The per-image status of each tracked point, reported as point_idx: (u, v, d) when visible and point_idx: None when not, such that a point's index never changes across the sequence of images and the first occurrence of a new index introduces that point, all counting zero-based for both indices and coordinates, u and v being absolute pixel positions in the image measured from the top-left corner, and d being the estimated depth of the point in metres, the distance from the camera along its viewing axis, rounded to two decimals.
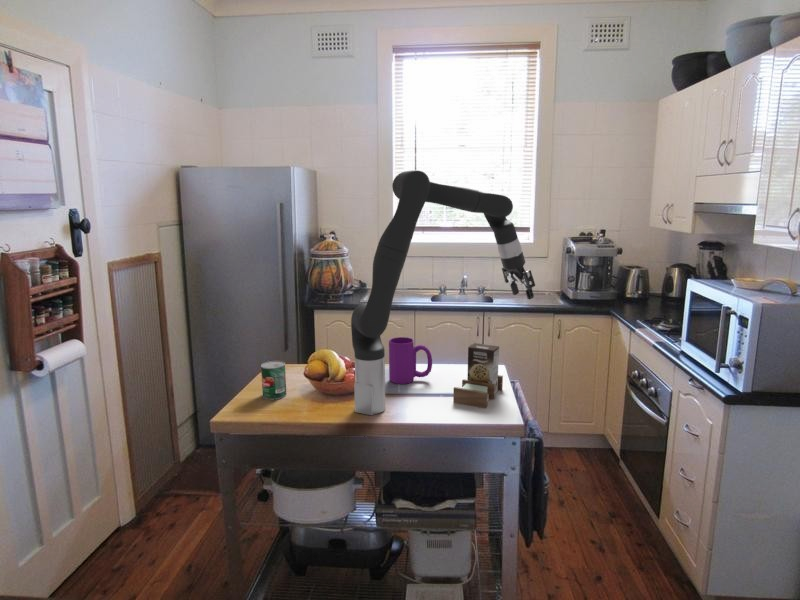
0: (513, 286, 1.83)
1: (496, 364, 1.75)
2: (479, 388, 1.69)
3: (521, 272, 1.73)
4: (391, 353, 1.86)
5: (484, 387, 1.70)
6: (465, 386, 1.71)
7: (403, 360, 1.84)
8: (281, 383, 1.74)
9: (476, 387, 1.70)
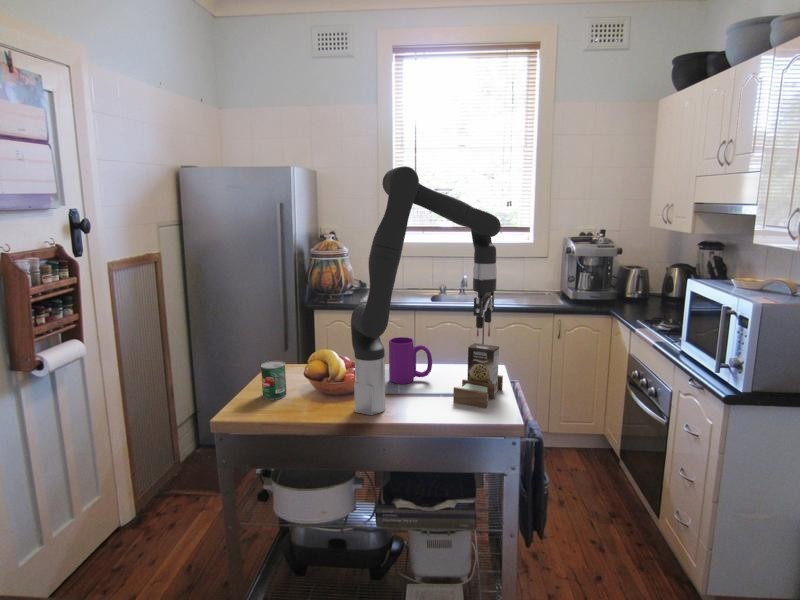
0: (486, 313, 1.77)
1: (496, 364, 1.75)
2: (479, 388, 1.69)
3: None
4: (391, 353, 1.86)
5: (484, 387, 1.69)
6: (465, 386, 1.71)
7: (403, 360, 1.84)
8: (281, 383, 1.74)
9: (476, 387, 1.70)
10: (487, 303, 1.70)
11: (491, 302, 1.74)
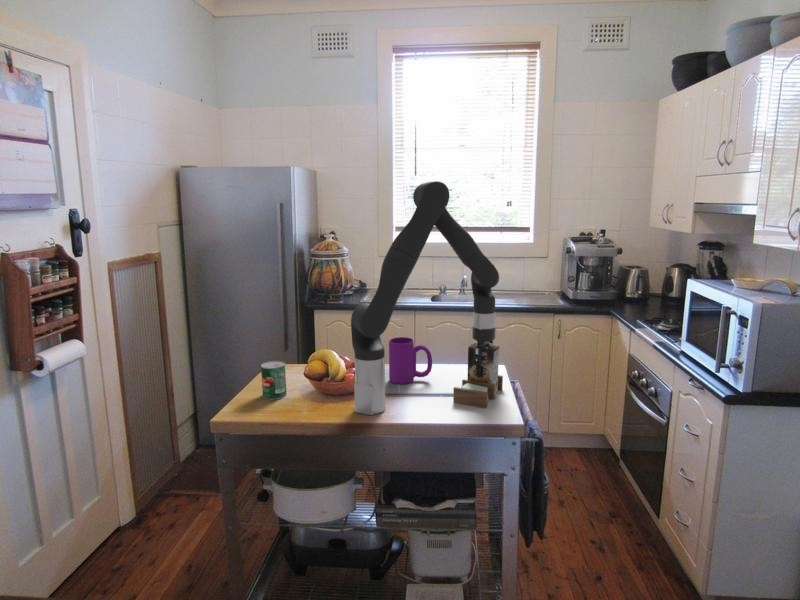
0: None
1: (496, 364, 1.75)
2: (478, 388, 1.69)
3: (477, 346, 1.72)
4: (391, 353, 1.86)
5: (484, 387, 1.69)
6: (465, 385, 1.71)
7: (403, 360, 1.84)
8: (281, 383, 1.74)
9: (476, 387, 1.70)
10: None
11: None
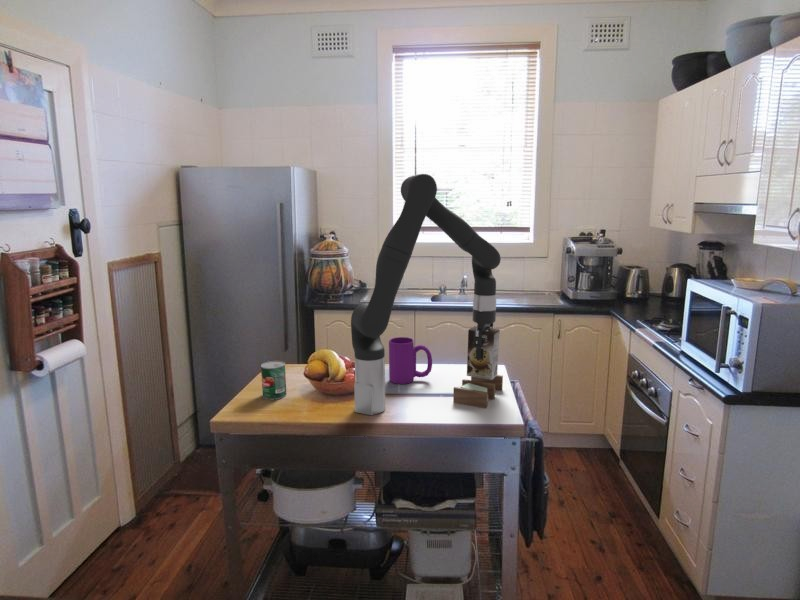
0: None
1: (496, 347, 1.73)
2: (478, 388, 1.69)
3: (477, 329, 1.70)
4: (391, 353, 1.86)
5: (483, 388, 1.69)
6: (465, 385, 1.71)
7: (403, 360, 1.84)
8: (281, 383, 1.74)
9: (475, 387, 1.70)
10: None
11: None
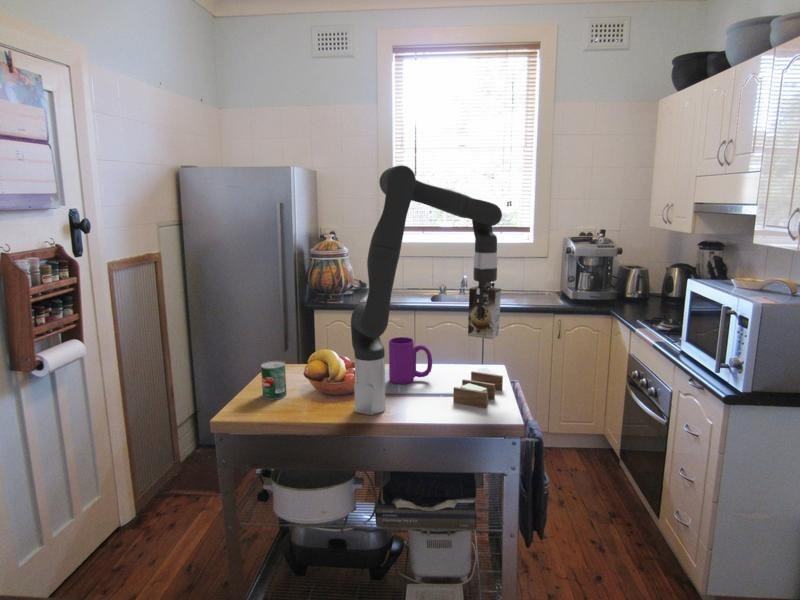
0: None
1: (498, 306, 1.71)
2: (478, 388, 1.69)
3: (478, 287, 1.68)
4: (391, 353, 1.86)
5: (483, 388, 1.69)
6: (465, 385, 1.72)
7: (403, 360, 1.84)
8: (281, 383, 1.74)
9: (475, 387, 1.70)
10: None
11: None
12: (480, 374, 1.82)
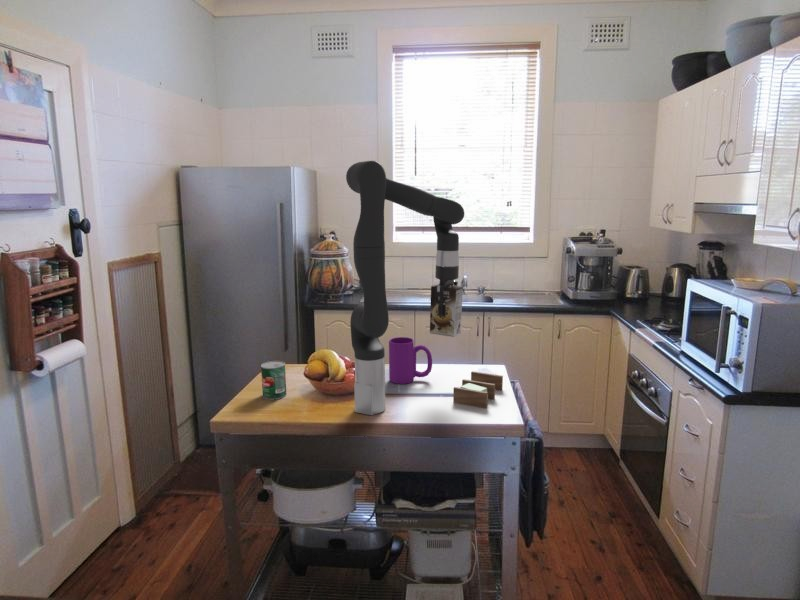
0: None
1: (459, 304, 1.72)
2: (478, 388, 1.69)
3: None
4: (391, 353, 1.86)
5: (483, 388, 1.69)
6: (465, 385, 1.71)
7: (403, 360, 1.84)
8: (281, 383, 1.74)
9: (475, 387, 1.70)
10: None
11: None
12: (480, 374, 1.82)
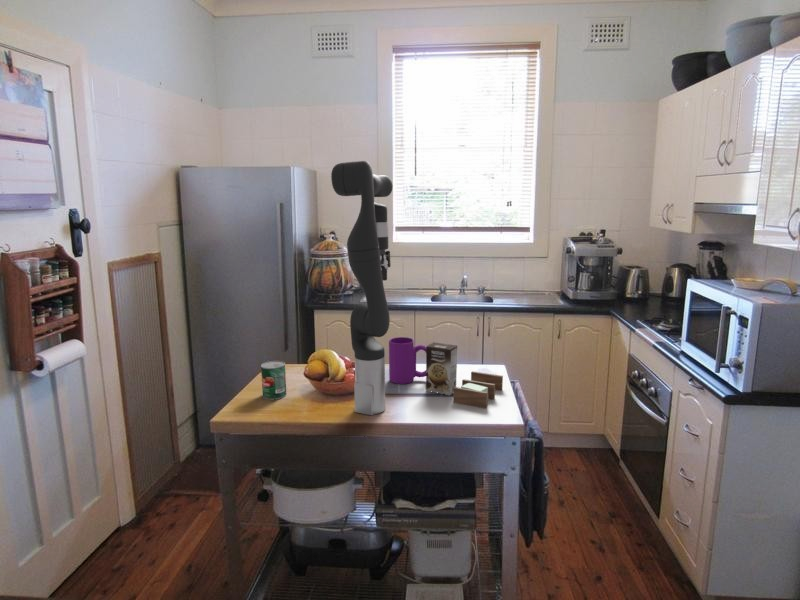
0: (382, 271, 1.86)
1: (454, 363, 1.76)
2: (478, 387, 1.69)
3: None
4: (391, 353, 1.86)
5: (484, 387, 1.69)
6: (466, 385, 1.72)
7: (403, 360, 1.84)
8: (281, 383, 1.74)
9: (476, 387, 1.70)
10: None
11: (385, 260, 1.83)
12: (480, 374, 1.82)
